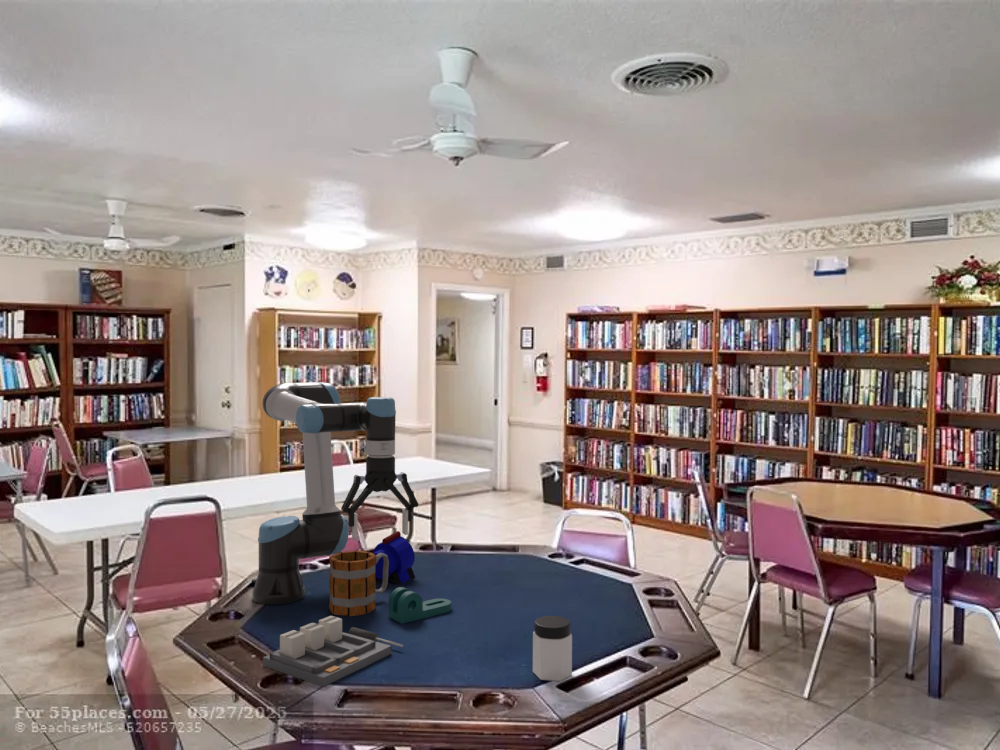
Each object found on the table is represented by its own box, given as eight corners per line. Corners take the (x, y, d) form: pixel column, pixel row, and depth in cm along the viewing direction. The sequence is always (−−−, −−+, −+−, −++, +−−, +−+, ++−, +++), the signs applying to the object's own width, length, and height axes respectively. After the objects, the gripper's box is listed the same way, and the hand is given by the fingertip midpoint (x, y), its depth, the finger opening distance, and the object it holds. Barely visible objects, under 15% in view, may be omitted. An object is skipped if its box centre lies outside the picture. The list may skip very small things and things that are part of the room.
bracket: (401, 624, 202) (401, 595, 202) (388, 617, 207) (388, 589, 207) (455, 610, 213) (455, 583, 213) (442, 604, 219) (442, 577, 218)
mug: (347, 619, 205) (347, 565, 204) (318, 608, 214) (319, 556, 213) (402, 603, 219) (402, 552, 219) (373, 593, 228) (373, 544, 228)
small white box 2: (318, 640, 183) (318, 619, 183) (330, 635, 187) (330, 615, 187) (330, 643, 181) (330, 622, 181) (342, 638, 184) (342, 618, 184)
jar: (549, 662, 176) (549, 612, 176) (577, 672, 171) (578, 620, 171) (525, 675, 169) (526, 622, 169) (554, 685, 164) (555, 631, 164)
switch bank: (262, 665, 174) (262, 652, 174) (332, 636, 192) (332, 624, 192) (323, 686, 163) (323, 672, 163) (391, 653, 181) (391, 640, 181)
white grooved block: (299, 648, 178) (299, 626, 178) (312, 642, 182) (312, 622, 182) (311, 651, 176) (311, 630, 176) (324, 646, 179) (324, 625, 179)
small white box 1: (279, 656, 173) (279, 634, 173) (293, 650, 177) (293, 629, 177) (291, 660, 171) (291, 638, 171) (305, 654, 174) (305, 632, 174)
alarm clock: (416, 577, 245) (417, 532, 245) (392, 586, 235) (392, 539, 235) (388, 571, 252) (388, 527, 252) (363, 580, 241) (363, 534, 241)
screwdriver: (348, 637, 191) (348, 628, 191) (355, 635, 193) (355, 625, 193) (399, 652, 182) (399, 642, 182) (405, 649, 184) (405, 639, 184)
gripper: (336, 460, 188) (336, 543, 188) (430, 455, 198) (429, 534, 198) (330, 456, 194) (329, 537, 195) (421, 452, 205) (420, 528, 205)
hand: (380, 536), depth 197 cm, fingers open, 13 cm apart
